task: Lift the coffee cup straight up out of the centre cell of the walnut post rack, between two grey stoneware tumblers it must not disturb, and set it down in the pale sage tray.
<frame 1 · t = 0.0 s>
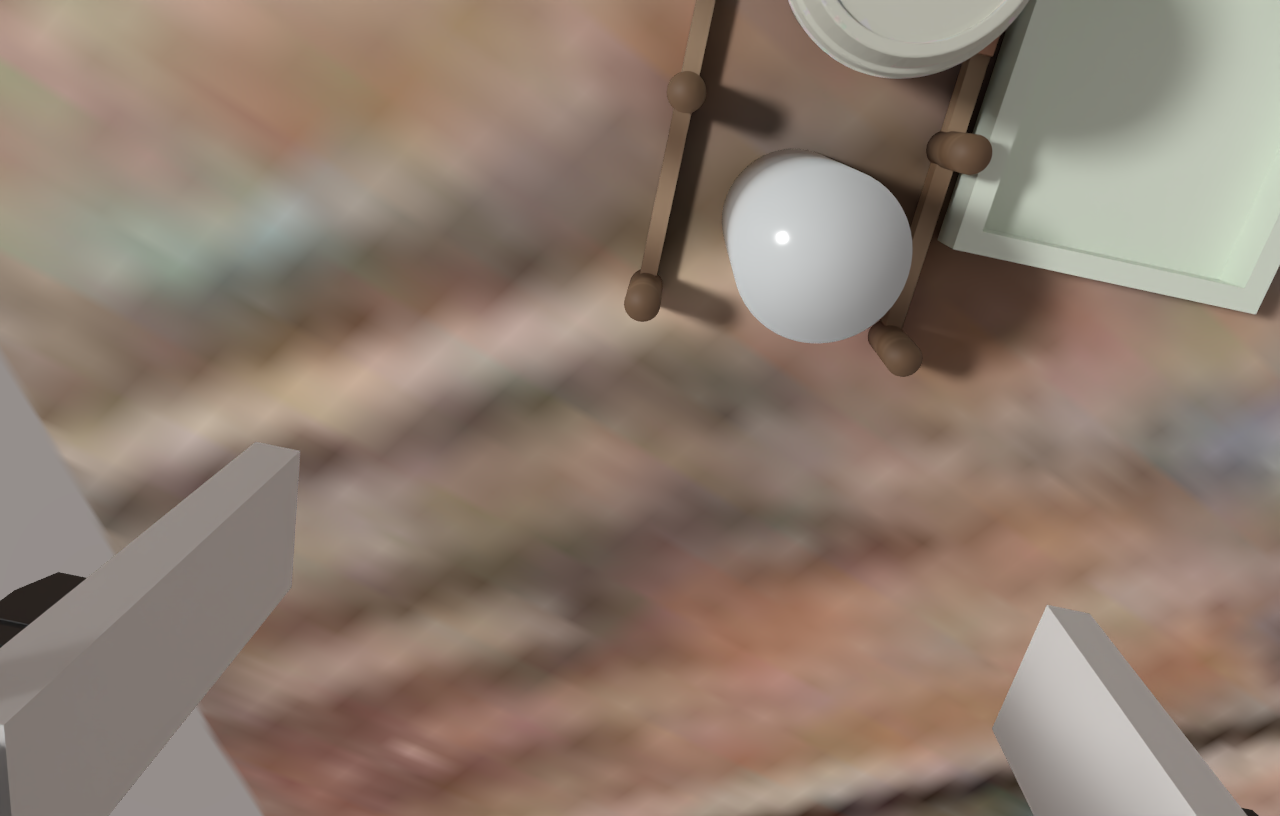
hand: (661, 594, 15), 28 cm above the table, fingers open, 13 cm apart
tray: (1140, 118, 37), on the table
tumbler b: (789, 219, 40), on the table
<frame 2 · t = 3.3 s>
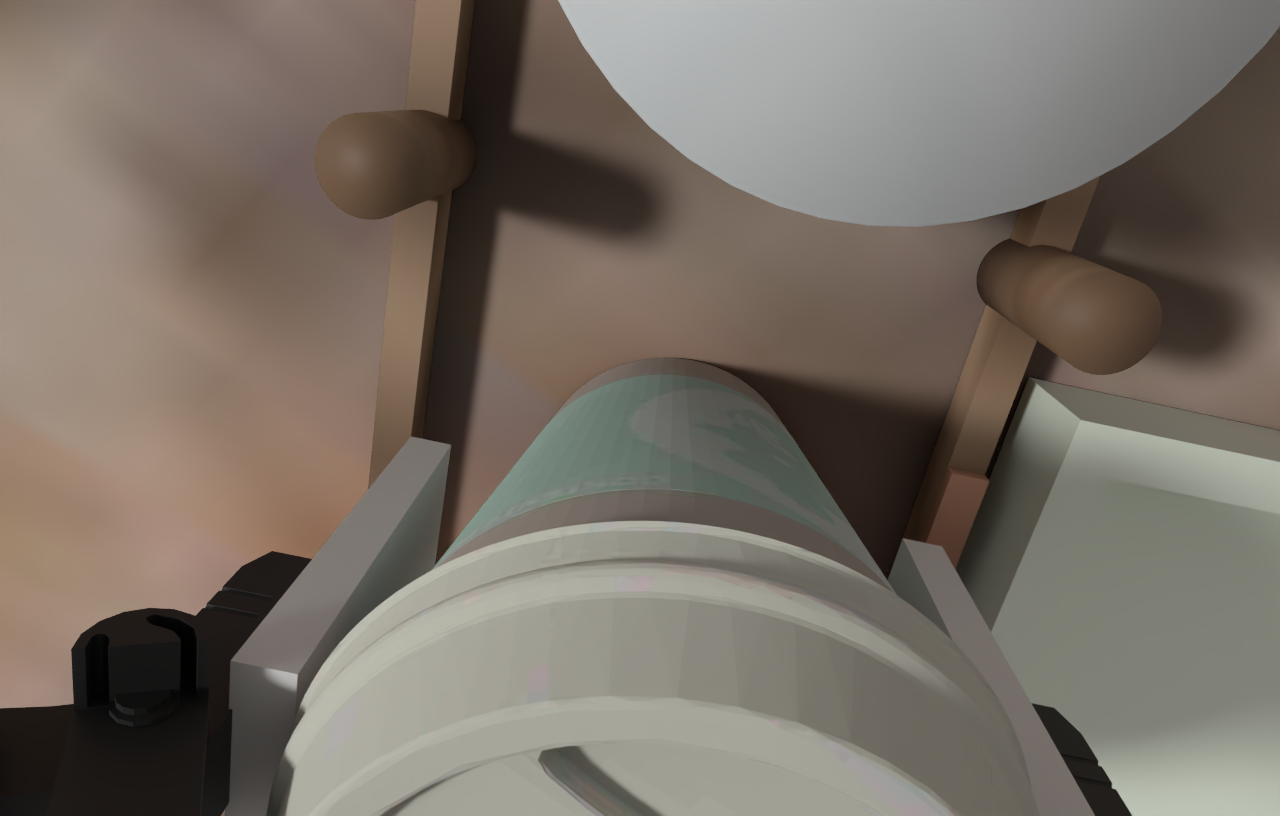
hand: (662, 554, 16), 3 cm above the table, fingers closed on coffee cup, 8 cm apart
tray: (1202, 702, 20), on the table
coffee cup: (666, 474, 19), on the table, touching gripper
rack: (666, 477, 19), on the table
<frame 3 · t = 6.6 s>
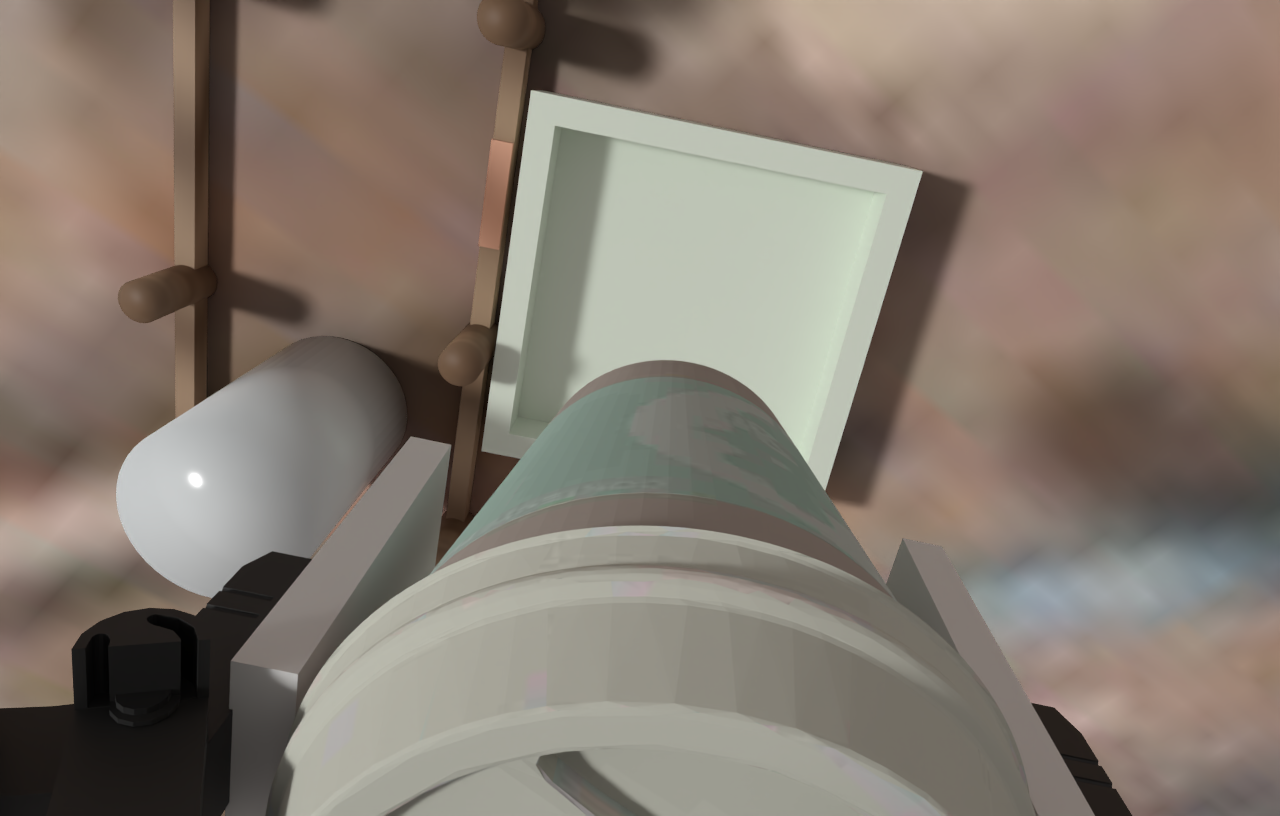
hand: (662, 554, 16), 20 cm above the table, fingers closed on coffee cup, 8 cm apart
tray: (685, 305, 34), on the table
coffee cup: (665, 476, 19), point 16 cm above the table, touching gripper
rack: (350, 161, 33), on the table
tumbler b: (334, 407, 37), on the table
when the fingers open (5 cm above the table, at t = 9.8 s): coffee cup drops 1 cm, resting on tray.
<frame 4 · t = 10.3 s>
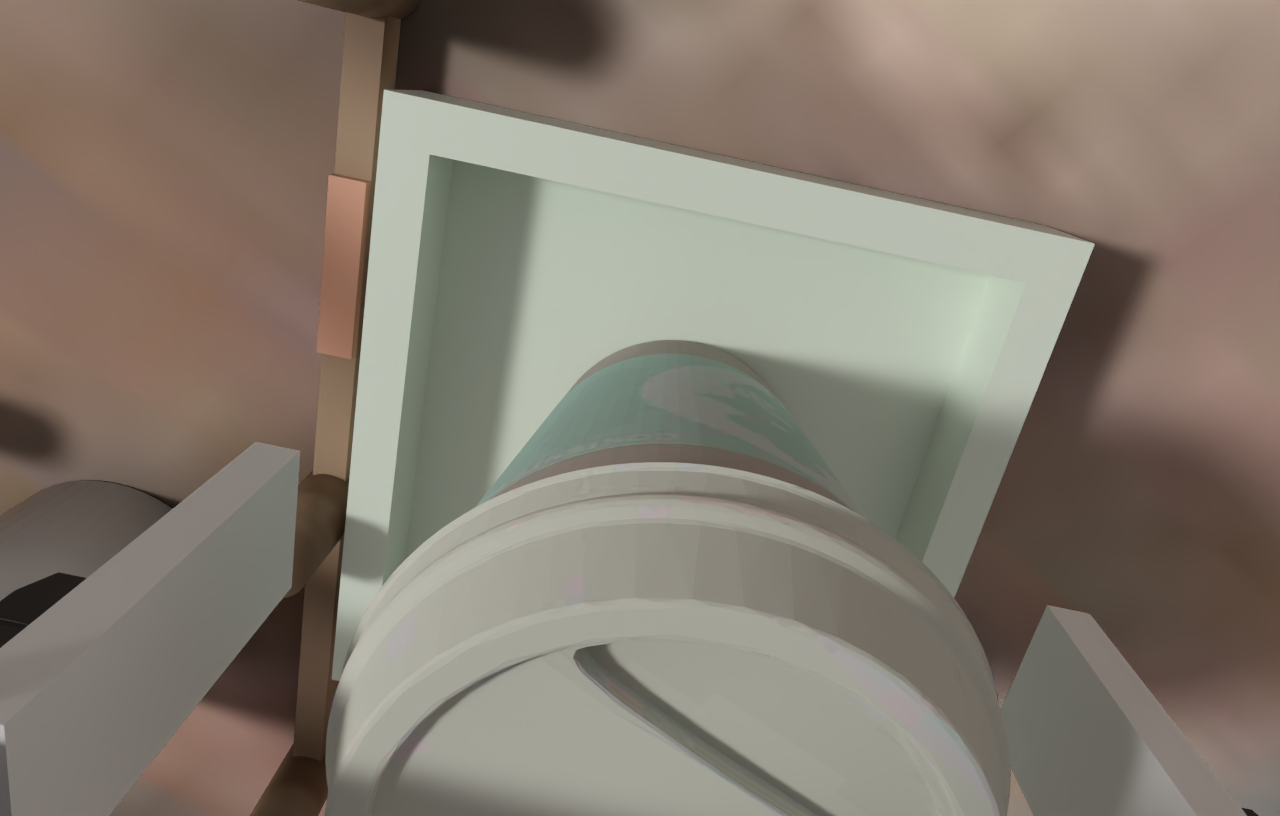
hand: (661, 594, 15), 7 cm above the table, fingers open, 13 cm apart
tray: (668, 444, 21), on the table
coffee cup: (670, 450, 21), resting on tray
rack: (107, 205, 20), on the table
tumbler b: (116, 585, 23), on the table
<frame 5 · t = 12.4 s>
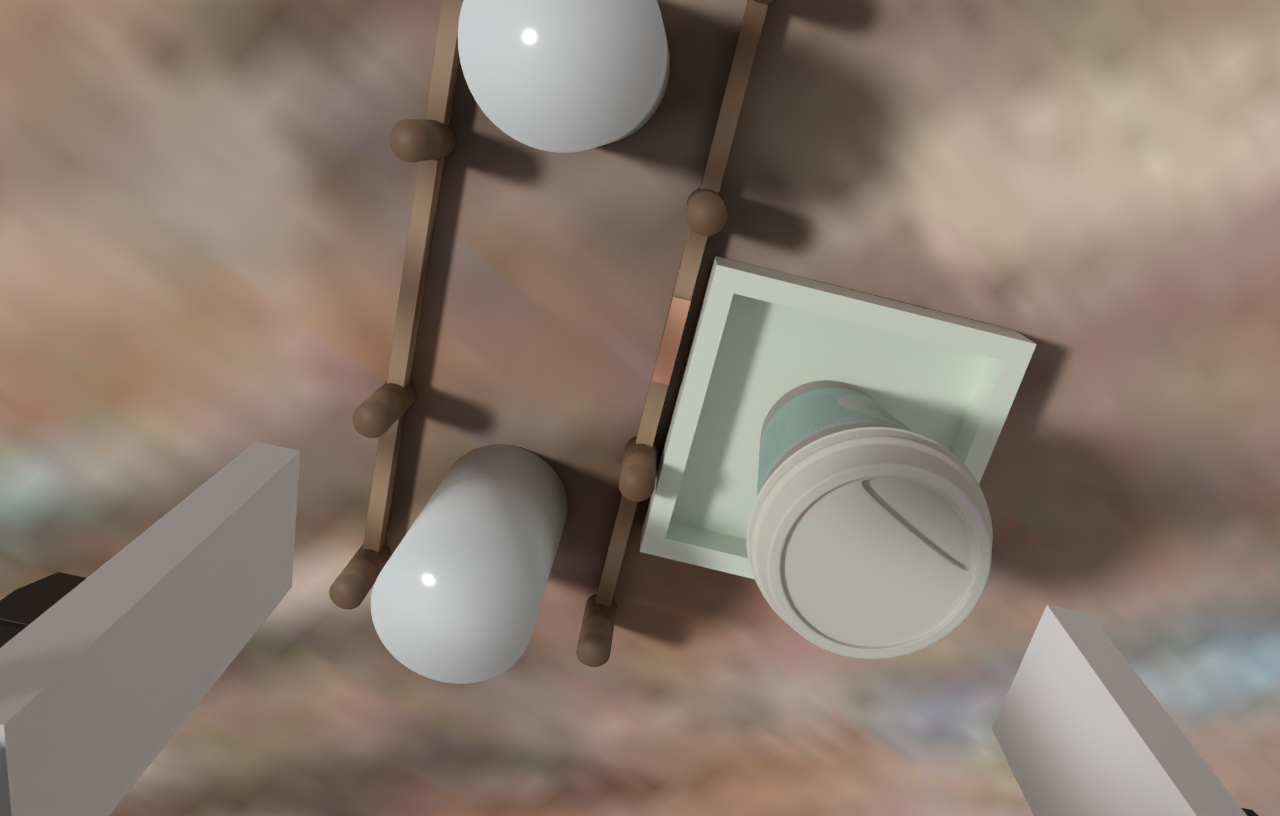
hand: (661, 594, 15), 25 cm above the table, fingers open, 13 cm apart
tray: (818, 434, 40), on the table
coffee cup: (821, 436, 40), resting on tray
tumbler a: (594, 64, 35), on the table
rack: (545, 303, 39), on the table
tumbler b: (504, 503, 42), on the table
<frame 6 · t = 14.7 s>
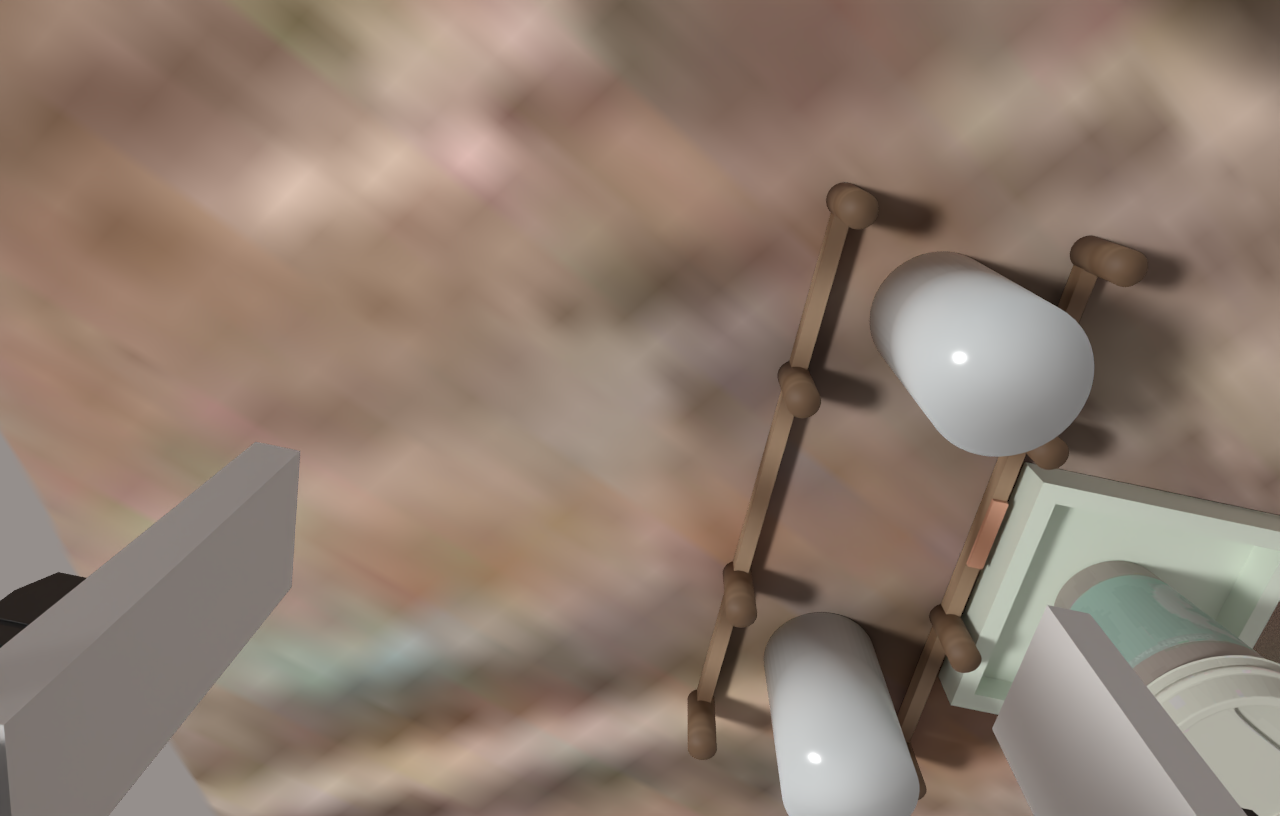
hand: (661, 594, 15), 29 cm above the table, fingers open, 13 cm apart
tray: (1101, 599, 47), on the table
coffee cup: (1105, 603, 46), resting on tray
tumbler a: (935, 316, 42), on the table
rack: (872, 501, 45), on the table
tumbler b: (818, 659, 49), on the table
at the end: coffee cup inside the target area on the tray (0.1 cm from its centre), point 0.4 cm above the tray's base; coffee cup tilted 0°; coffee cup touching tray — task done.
